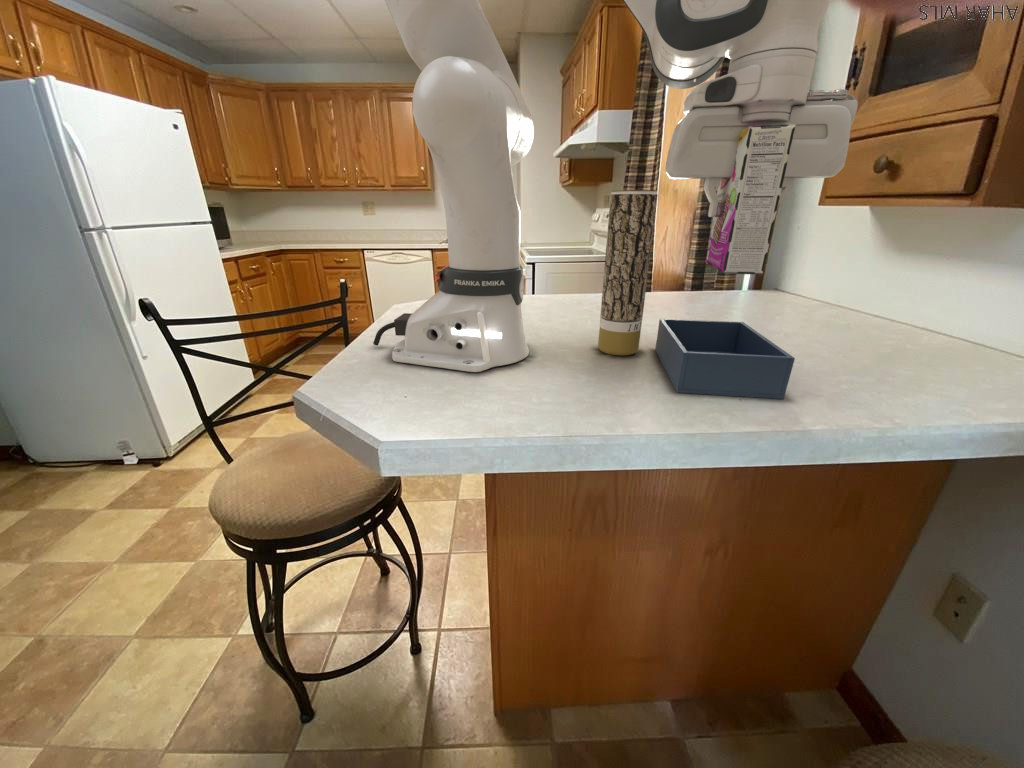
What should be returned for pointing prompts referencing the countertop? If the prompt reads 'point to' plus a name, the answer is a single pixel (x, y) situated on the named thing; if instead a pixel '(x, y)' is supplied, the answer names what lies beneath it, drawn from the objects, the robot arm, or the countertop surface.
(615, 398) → the countertop surface
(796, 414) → the countertop surface
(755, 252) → the candy bar box
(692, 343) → the tote
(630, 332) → the paper tube
